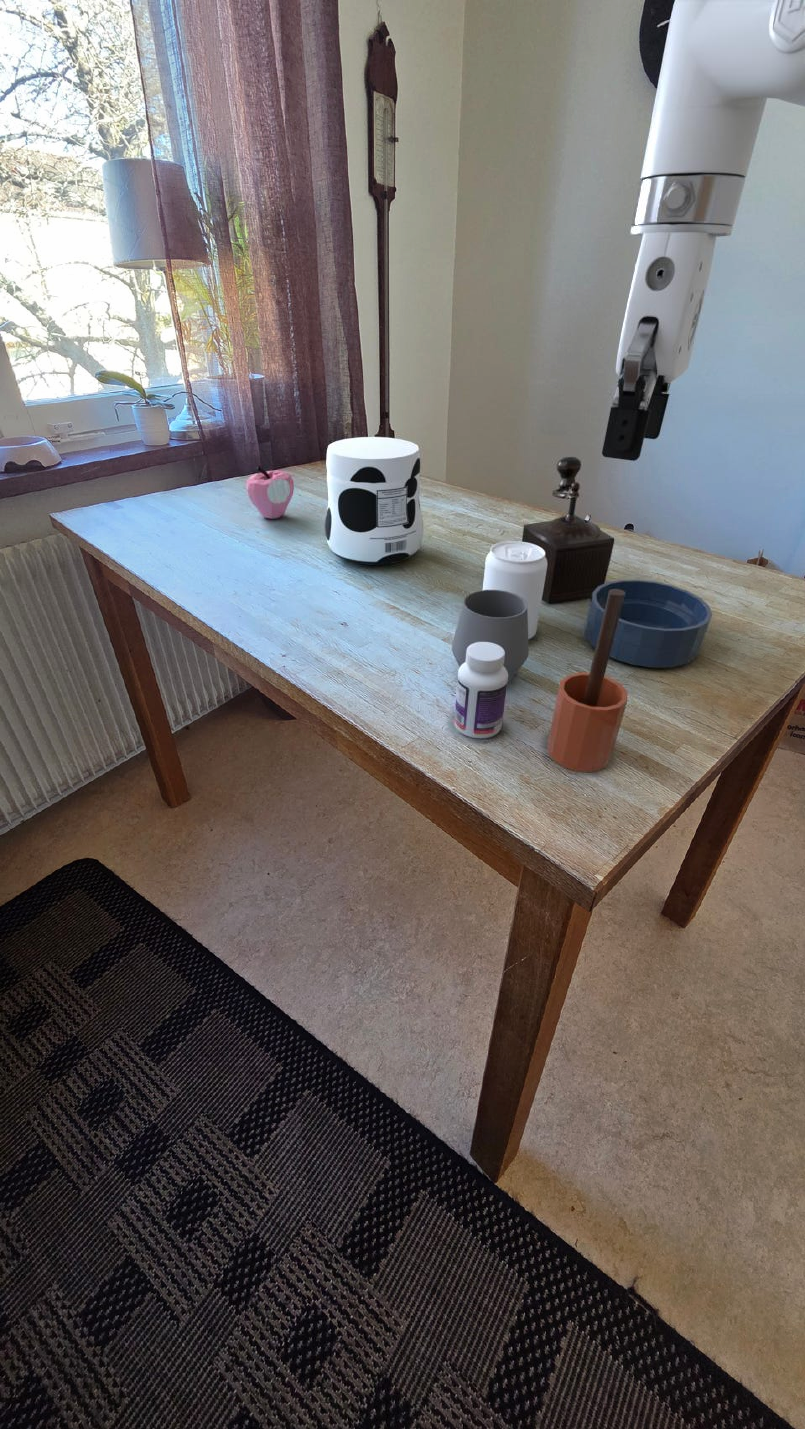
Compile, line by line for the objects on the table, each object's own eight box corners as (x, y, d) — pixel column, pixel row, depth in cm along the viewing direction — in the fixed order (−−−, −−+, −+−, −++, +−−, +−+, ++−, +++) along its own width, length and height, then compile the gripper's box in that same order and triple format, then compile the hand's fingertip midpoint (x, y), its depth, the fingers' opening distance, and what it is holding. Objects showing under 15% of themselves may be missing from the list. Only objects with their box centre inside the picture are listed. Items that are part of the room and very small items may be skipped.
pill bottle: (507, 718, 69) (518, 644, 63) (493, 745, 65) (503, 669, 60) (463, 706, 71) (469, 633, 65) (446, 731, 67) (452, 657, 61)
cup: (517, 655, 81) (527, 586, 75) (530, 695, 73) (543, 622, 67) (447, 655, 80) (451, 586, 74) (453, 695, 73) (459, 622, 67)
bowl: (722, 659, 81) (738, 619, 77) (630, 680, 76) (642, 639, 72) (646, 610, 92) (657, 573, 88) (562, 626, 87) (569, 588, 84)
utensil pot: (623, 763, 63) (642, 701, 58) (569, 778, 61) (584, 715, 56) (586, 727, 68) (600, 667, 63) (534, 740, 66) (546, 679, 61)
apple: (259, 526, 119) (253, 474, 113) (243, 514, 125) (236, 463, 119) (303, 518, 123) (299, 467, 117) (286, 507, 129) (281, 457, 123)
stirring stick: (593, 747, 64) (634, 591, 54) (591, 754, 63) (632, 598, 53) (567, 740, 65) (602, 586, 55) (564, 747, 64) (600, 592, 54)
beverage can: (537, 622, 88) (550, 543, 81) (534, 649, 82) (548, 566, 75) (482, 615, 90) (490, 537, 83) (475, 642, 83) (483, 559, 76)
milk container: (355, 530, 118) (352, 431, 107) (437, 545, 112) (442, 442, 101) (308, 561, 105) (298, 452, 95) (397, 580, 100) (398, 466, 89)
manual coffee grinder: (608, 595, 96) (635, 478, 85) (547, 605, 93) (568, 485, 82) (556, 559, 108) (575, 452, 97) (501, 566, 105) (514, 457, 94)
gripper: (725, 201, 39) (656, 474, 49) (745, 218, 51) (686, 434, 62) (609, 204, 42) (566, 461, 52) (654, 220, 54) (612, 426, 64)
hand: (631, 447), depth 57 cm, fingers open, 9 cm apart
